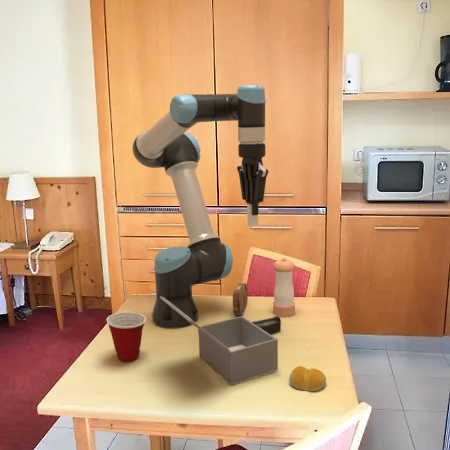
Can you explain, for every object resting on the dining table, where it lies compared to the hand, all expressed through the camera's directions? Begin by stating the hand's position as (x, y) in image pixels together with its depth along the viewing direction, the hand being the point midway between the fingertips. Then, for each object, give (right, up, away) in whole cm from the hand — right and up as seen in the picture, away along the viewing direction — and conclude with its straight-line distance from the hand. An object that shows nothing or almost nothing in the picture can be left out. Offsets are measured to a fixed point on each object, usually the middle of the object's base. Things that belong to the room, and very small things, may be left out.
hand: (252, 225), depth 148 cm
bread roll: (+12, -40, -19) cm, 46 cm away
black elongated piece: (+3, -34, +8) cm, 35 cm away
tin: (-3, -29, +28) cm, 41 cm away
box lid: (-16, -24, -18) cm, 34 cm away
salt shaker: (+12, -30, +25) cm, 40 cm away
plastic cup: (-35, -37, -4) cm, 51 cm away
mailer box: (-5, -37, -9) cm, 39 cm away
